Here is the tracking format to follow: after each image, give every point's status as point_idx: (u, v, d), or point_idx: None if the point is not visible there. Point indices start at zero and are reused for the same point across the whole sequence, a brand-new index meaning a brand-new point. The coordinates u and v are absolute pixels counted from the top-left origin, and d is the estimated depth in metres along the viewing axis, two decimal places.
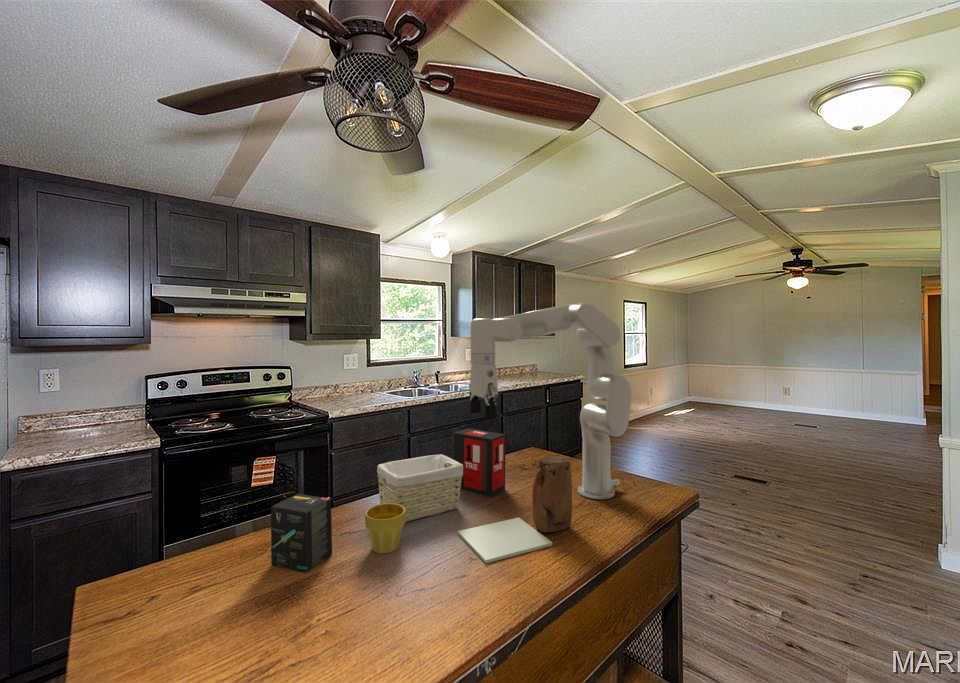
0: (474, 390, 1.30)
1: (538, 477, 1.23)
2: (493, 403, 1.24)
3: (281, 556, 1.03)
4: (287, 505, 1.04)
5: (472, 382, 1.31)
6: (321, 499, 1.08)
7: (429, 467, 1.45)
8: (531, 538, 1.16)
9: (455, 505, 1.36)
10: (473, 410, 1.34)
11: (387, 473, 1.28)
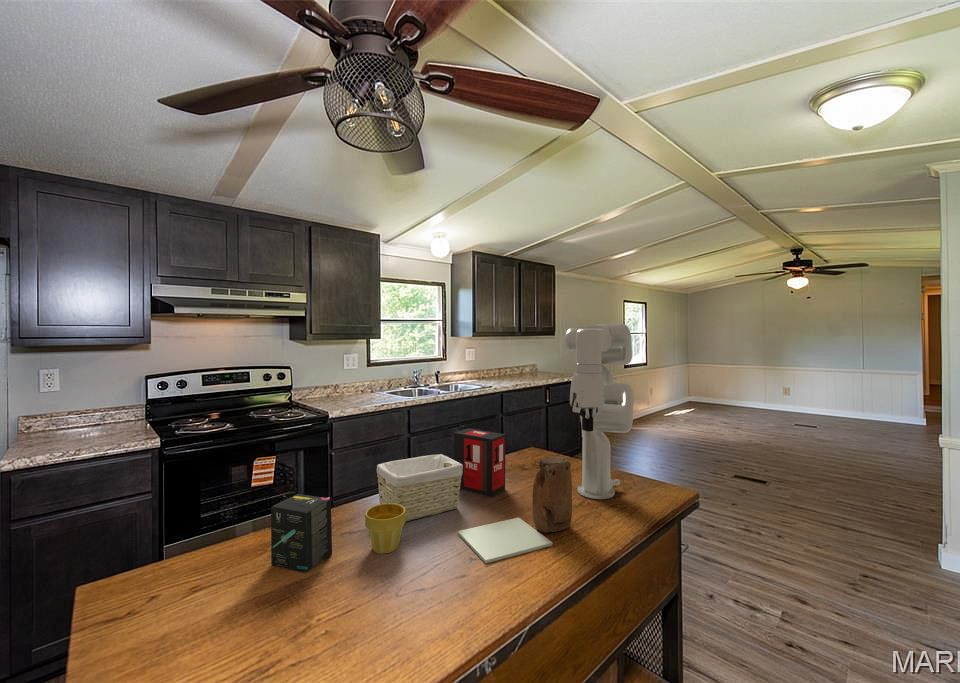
0: (589, 402, 1.27)
1: (538, 477, 1.23)
2: None
3: (281, 556, 1.03)
4: (287, 505, 1.04)
5: (586, 395, 1.26)
6: (321, 499, 1.08)
7: (429, 467, 1.45)
8: (531, 538, 1.16)
9: (454, 505, 1.36)
10: None
11: (387, 473, 1.29)
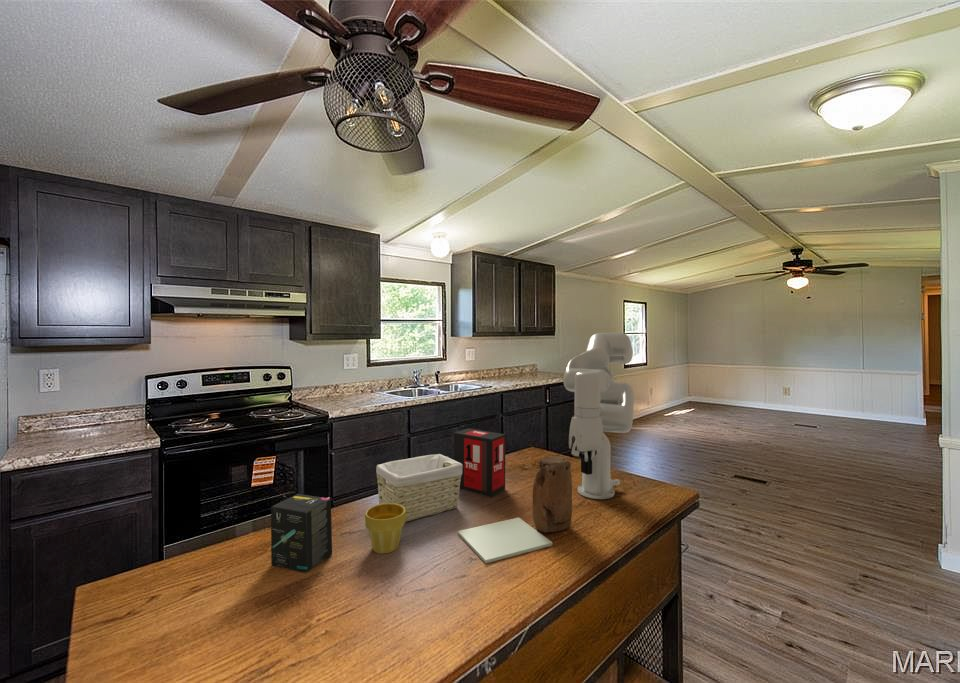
0: (588, 446, 1.27)
1: (538, 477, 1.23)
2: None
3: (281, 556, 1.03)
4: (287, 505, 1.04)
5: (585, 439, 1.26)
6: (321, 499, 1.07)
7: (427, 467, 1.45)
8: (531, 538, 1.16)
9: (454, 504, 1.37)
10: None
11: (387, 473, 1.28)
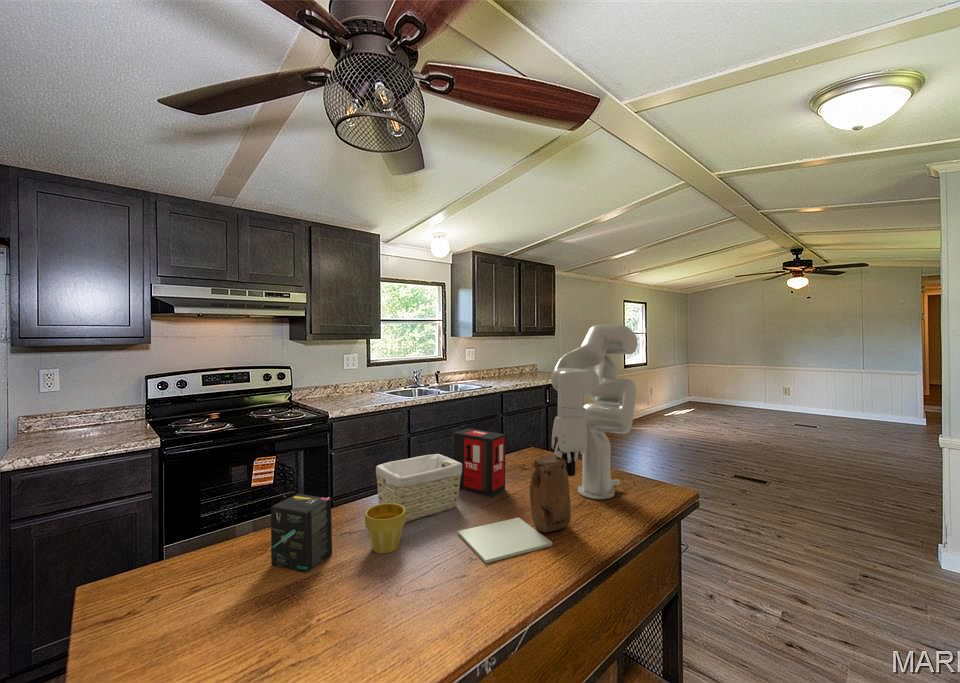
0: (571, 446, 1.24)
1: (534, 478, 1.23)
2: None
3: (281, 556, 1.03)
4: (287, 505, 1.04)
5: (568, 439, 1.23)
6: (321, 499, 1.08)
7: (426, 467, 1.45)
8: (531, 538, 1.16)
9: (454, 504, 1.37)
10: None
11: (388, 473, 1.28)
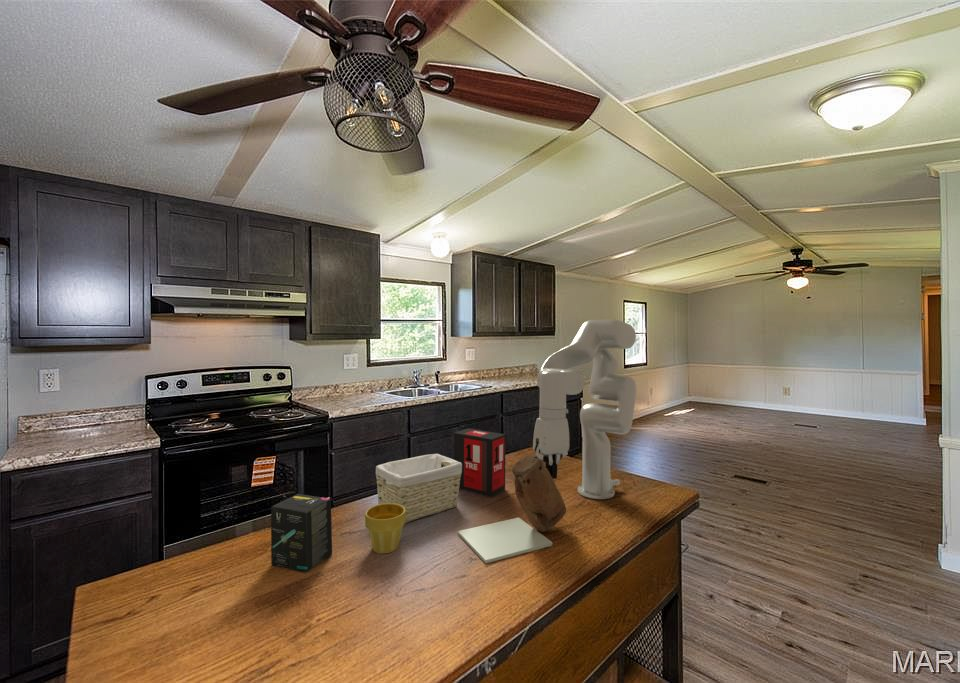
0: (553, 448, 1.21)
1: (517, 486, 1.20)
2: None
3: (281, 556, 1.03)
4: (287, 505, 1.04)
5: (549, 441, 1.20)
6: (321, 499, 1.08)
7: (425, 467, 1.45)
8: (531, 538, 1.16)
9: (454, 503, 1.38)
10: None
11: (388, 474, 1.28)
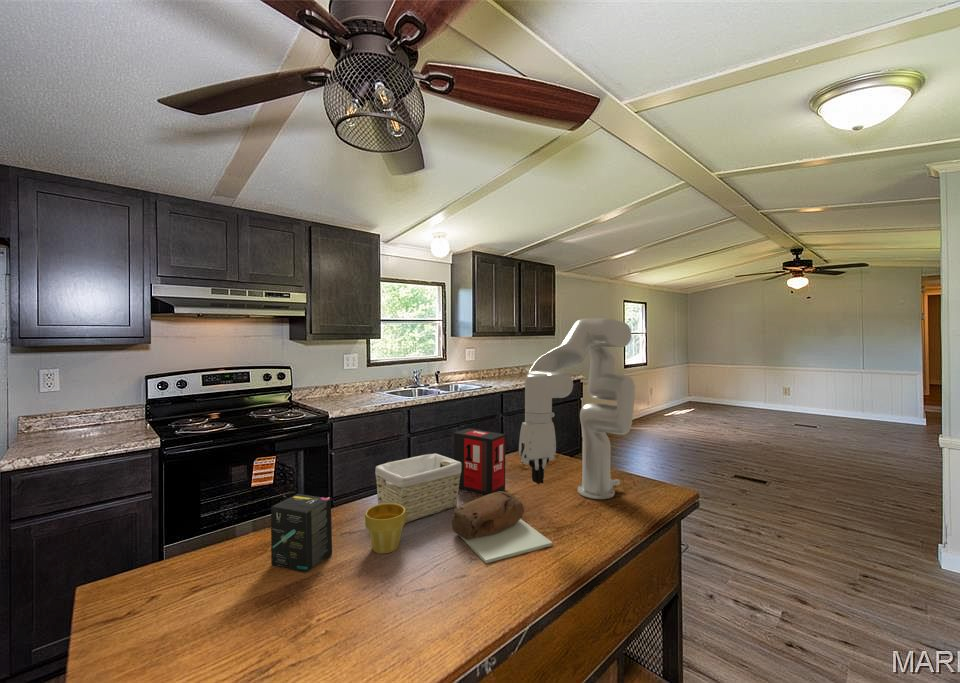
0: (539, 453, 1.19)
1: (484, 531, 1.17)
2: None
3: (281, 556, 1.03)
4: (287, 505, 1.04)
5: (535, 446, 1.18)
6: (321, 499, 1.08)
7: (424, 466, 1.45)
8: (531, 538, 1.16)
9: (454, 502, 1.38)
10: None
11: (389, 474, 1.28)
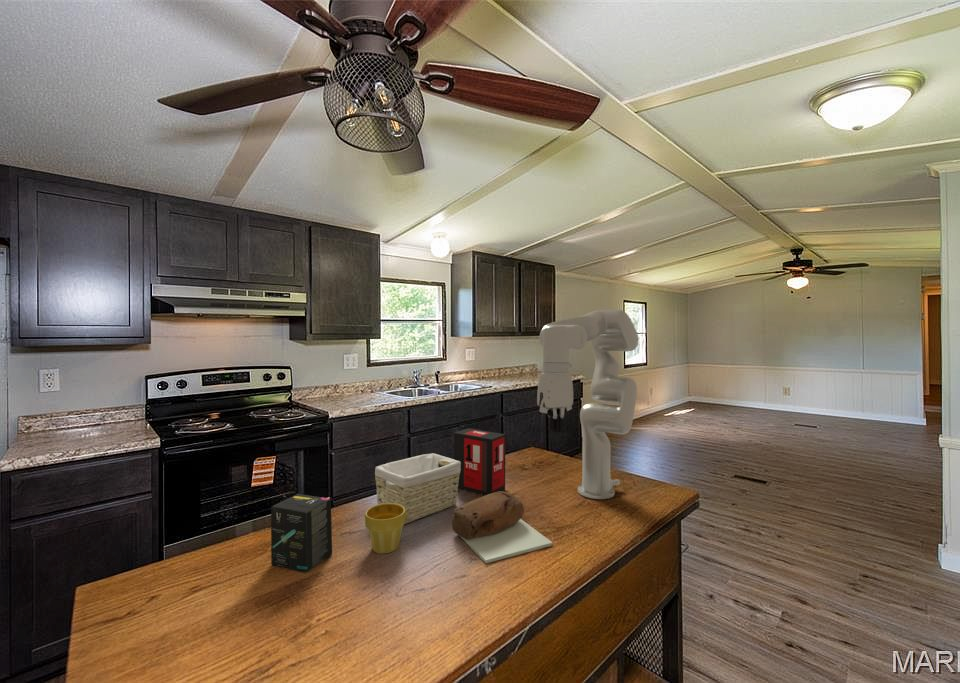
0: (557, 402, 1.22)
1: (484, 531, 1.17)
2: None
3: (281, 556, 1.03)
4: (287, 505, 1.04)
5: (553, 395, 1.21)
6: (321, 499, 1.08)
7: (422, 466, 1.45)
8: (531, 538, 1.16)
9: (453, 502, 1.39)
10: None
11: (391, 474, 1.27)
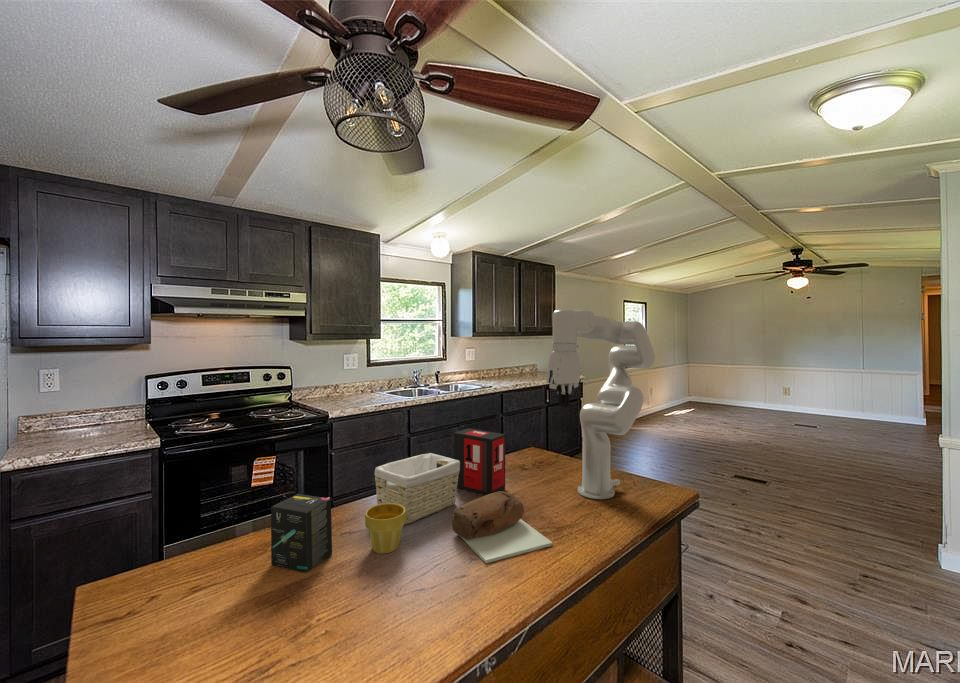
0: (565, 379, 1.34)
1: (484, 531, 1.17)
2: None
3: (281, 556, 1.03)
4: (287, 505, 1.04)
5: (562, 372, 1.33)
6: (321, 499, 1.08)
7: (421, 466, 1.45)
8: (531, 538, 1.16)
9: (453, 501, 1.40)
10: None
11: (392, 475, 1.27)
